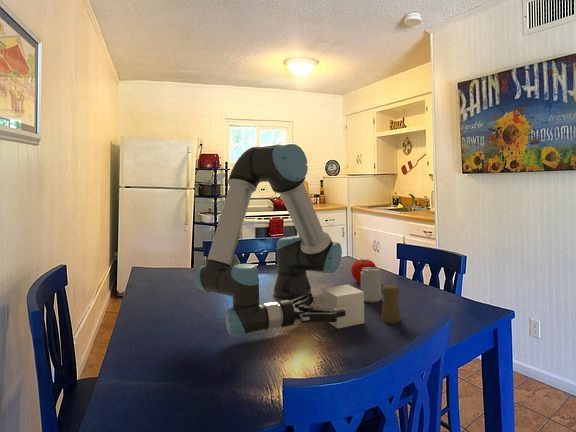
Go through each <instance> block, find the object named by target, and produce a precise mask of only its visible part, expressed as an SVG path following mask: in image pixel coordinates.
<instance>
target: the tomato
mask: <svg viewBox="0 0 576 432" xmlns="http://www.w3.org/2000/svg"><path fill="white" fill-rule="evenodd" d="M365 267H375V268H377V266H376V264H375V263H374V262H373V261H372V260H371V259H370V258H369V259H362V258H361V257H360V259H358V260H357V261H355V262H353V264H352V265H351V269H350V271H351V275H352V277H353V279H354V280H355V281H356V282H358V283H360V284H361V272H362V269H363V268H365Z"/></svg>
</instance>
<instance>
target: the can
mask: <svg viewBox="0 0 576 432" xmlns="http://www.w3.org/2000/svg"><path fill="white" fill-rule="evenodd" d="M360 290H361V291H363V292H364V303H378V302H379V301H380V300H381V299H382V272H381V271H380V268H378V267H376V268H375V267H365V268H363V269H362V272H361V283H360Z"/></svg>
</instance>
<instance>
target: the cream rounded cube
mask: <svg viewBox="0 0 576 432" xmlns="http://www.w3.org/2000/svg"><path fill="white" fill-rule="evenodd" d="M321 295H322V303H321V309H324V310H333V309H335V308H341V307H346V306H354V315H351V316H346V317H340V318H337V322H328V323H329V324H330V325H332V326H333V327H334V328H336V329H337V328H338V329H341V328H342V329H343V328H347V327H351V326H352V327H353V326H356V325H361V324H365V301H364V292H363V291H361V289H359V288H357V287H354V286H352V285H350V284H342V285H340V284H339V285H335V286H328V287H322V288H321Z"/></svg>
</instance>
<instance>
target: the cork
mask: <svg viewBox="0 0 576 432" xmlns="http://www.w3.org/2000/svg"><path fill="white" fill-rule="evenodd" d="M399 294H400V290H399V287H397V286H396V285H393V284H385V285H384V286H383V287H382V288H381V295H383V300H382V309H381V316H380V320H381V322H384V323H387V324H398V323H400V322H401V315H400V308H399V307H400V306H399V301H398V300H399V299H398V297H399Z"/></svg>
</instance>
